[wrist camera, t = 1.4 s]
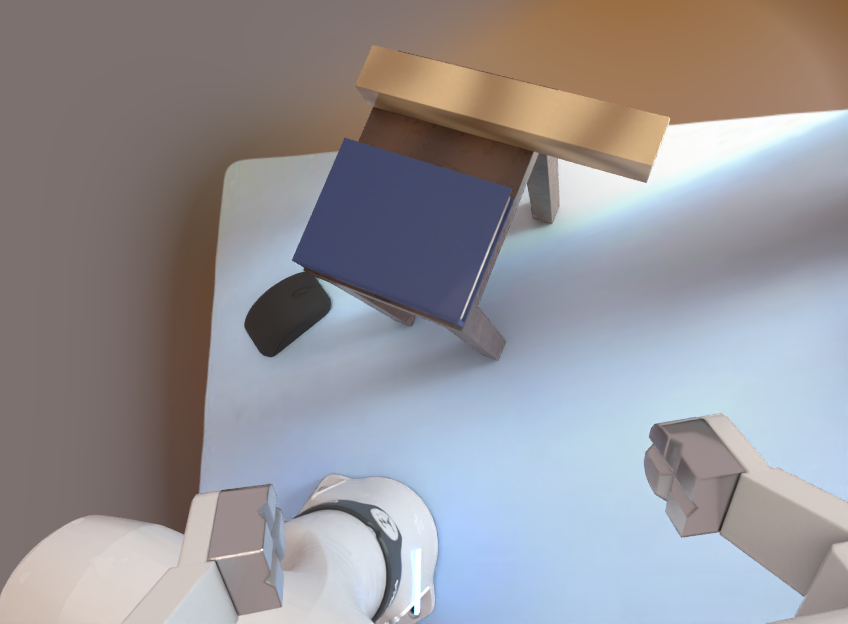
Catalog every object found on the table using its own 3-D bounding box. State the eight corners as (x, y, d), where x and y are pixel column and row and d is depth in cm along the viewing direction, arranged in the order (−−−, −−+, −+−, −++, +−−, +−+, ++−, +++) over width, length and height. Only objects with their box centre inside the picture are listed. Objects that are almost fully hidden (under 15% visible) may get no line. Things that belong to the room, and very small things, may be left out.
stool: (561, 204, 69) (558, 89, 45) (499, 362, 67) (461, 331, 43) (453, 171, 72) (397, 50, 49) (391, 320, 71) (302, 270, 47)
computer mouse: (336, 306, 73) (324, 300, 69) (268, 361, 74) (251, 358, 70) (310, 268, 75) (296, 260, 71) (243, 323, 76) (226, 318, 72)
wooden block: (663, 138, 42) (670, 117, 39) (646, 183, 42) (652, 165, 39) (384, 66, 49) (372, 44, 46) (367, 105, 48) (355, 85, 45)
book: (514, 199, 44) (512, 188, 42) (462, 328, 43) (457, 323, 41) (354, 150, 48) (344, 137, 46) (303, 267, 47) (291, 260, 45)
